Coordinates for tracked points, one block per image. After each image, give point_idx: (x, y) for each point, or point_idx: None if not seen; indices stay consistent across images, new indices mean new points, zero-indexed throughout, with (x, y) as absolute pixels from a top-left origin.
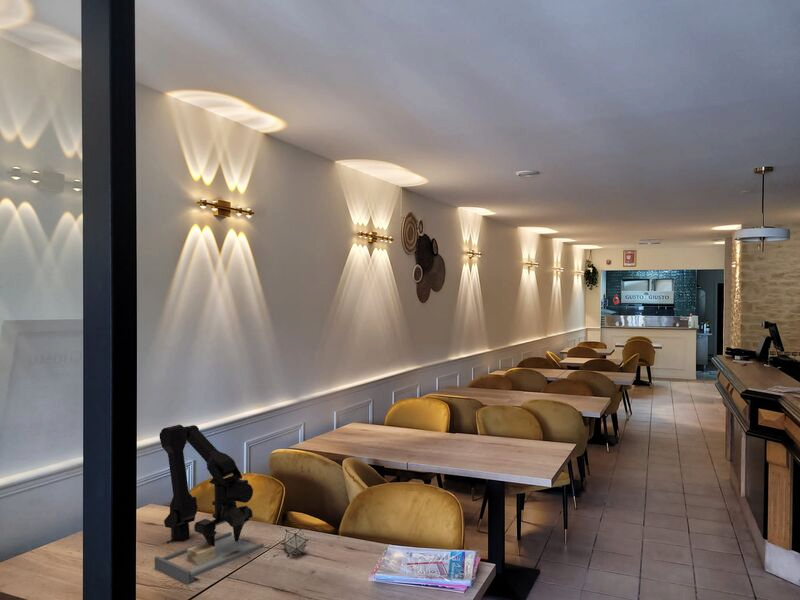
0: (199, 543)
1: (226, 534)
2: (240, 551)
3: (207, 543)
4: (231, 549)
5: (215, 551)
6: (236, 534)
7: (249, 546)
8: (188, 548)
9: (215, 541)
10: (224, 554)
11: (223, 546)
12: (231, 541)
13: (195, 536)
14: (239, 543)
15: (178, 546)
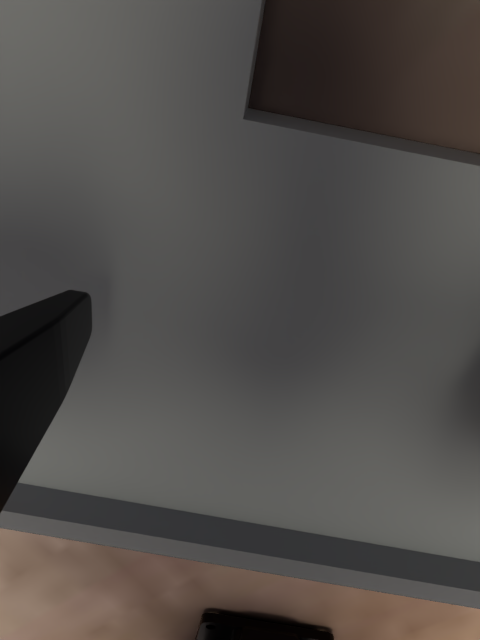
0: (337, 582)
1: (33, 514)
2: (259, 15)
3: (269, 537)
4: (263, 235)
5: (395, 379)
6: (32, 377)
7: (8, 19)
8: (477, 596)
9: (178, 511)
10: (464, 204)
11: (232, 387)
12: (78, 396)
13: (144, 627)
14: (51, 274)
15: (313, 629)
